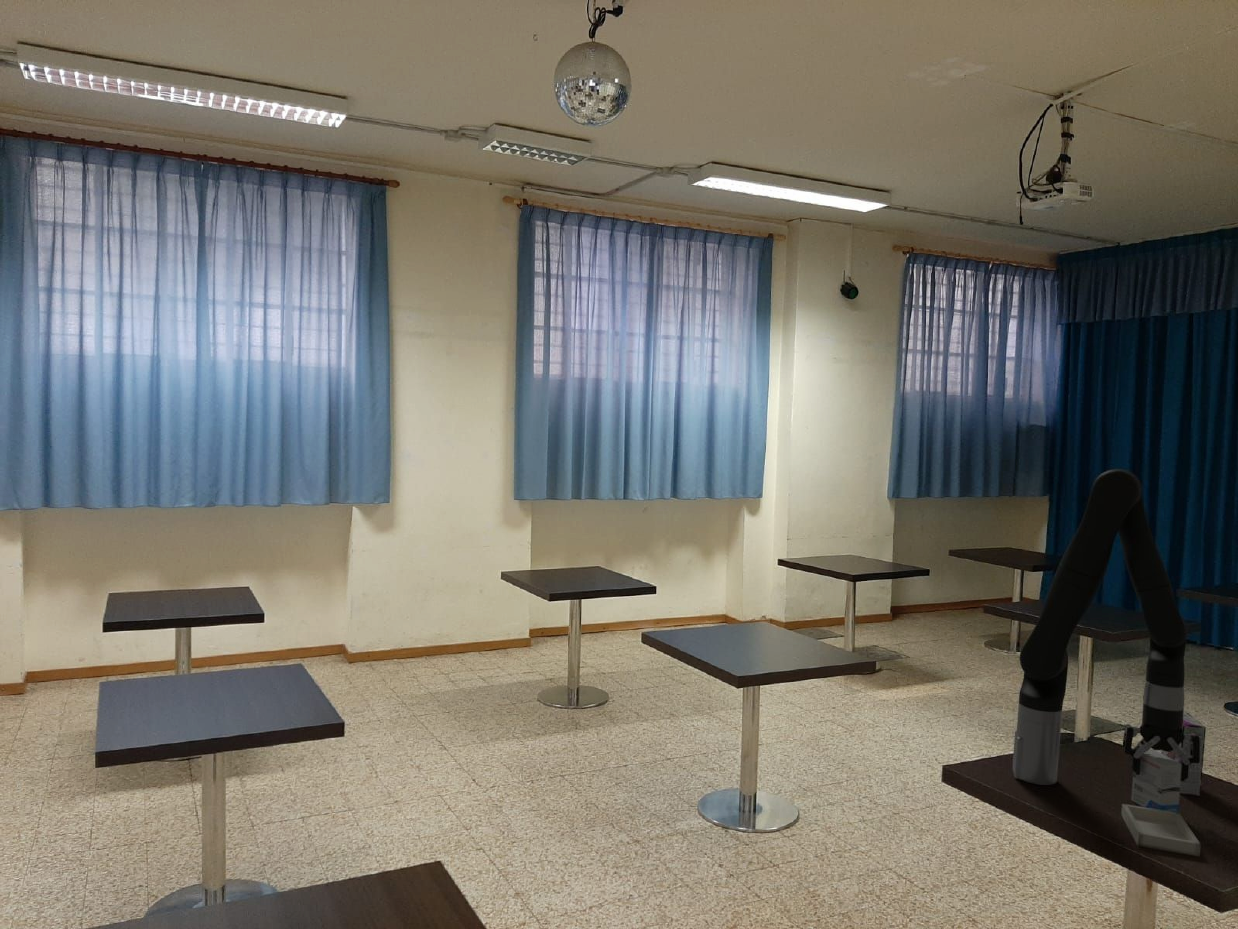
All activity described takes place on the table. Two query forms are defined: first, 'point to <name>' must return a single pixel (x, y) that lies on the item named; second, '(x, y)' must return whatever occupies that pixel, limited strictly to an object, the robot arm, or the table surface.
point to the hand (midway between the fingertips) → (1158, 777)
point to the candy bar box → (1195, 769)
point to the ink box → (1157, 782)
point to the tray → (1160, 830)
